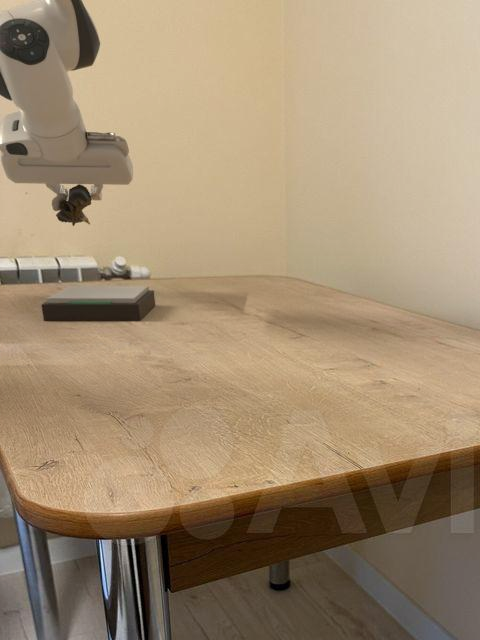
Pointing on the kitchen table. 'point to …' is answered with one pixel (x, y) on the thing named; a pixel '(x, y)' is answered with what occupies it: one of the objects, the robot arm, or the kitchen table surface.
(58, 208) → the eagle figurine
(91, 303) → the scale
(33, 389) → the kitchen table surface
